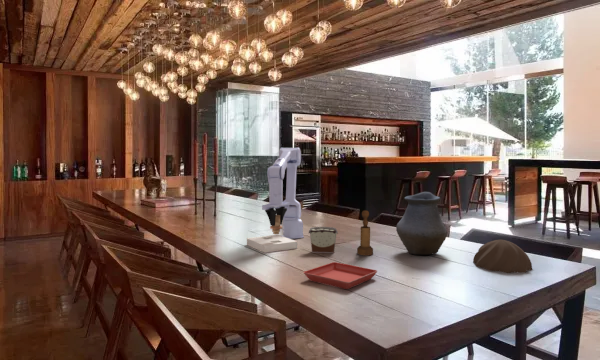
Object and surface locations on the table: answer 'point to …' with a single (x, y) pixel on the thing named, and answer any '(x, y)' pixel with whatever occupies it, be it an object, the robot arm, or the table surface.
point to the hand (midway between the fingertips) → (276, 224)
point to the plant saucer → (340, 275)
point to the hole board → (271, 243)
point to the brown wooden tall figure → (365, 237)
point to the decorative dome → (502, 257)
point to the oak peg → (276, 225)
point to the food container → (323, 239)
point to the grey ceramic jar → (422, 225)
